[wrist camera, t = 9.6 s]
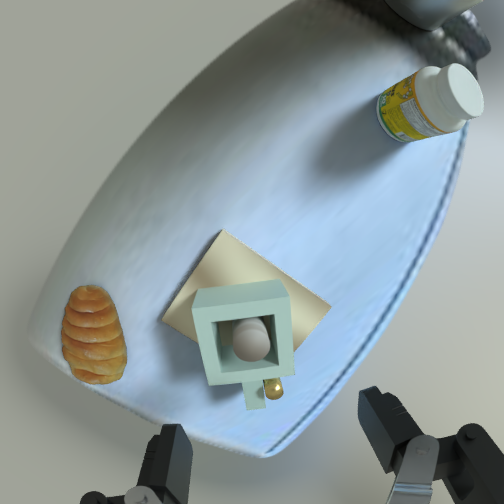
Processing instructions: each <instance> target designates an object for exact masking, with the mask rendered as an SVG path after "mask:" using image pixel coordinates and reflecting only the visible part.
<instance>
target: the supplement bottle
mask: <svg viewBox="0 0 504 504" xmlns="http://www.w3.org/2000/svg"><path fill="white" fill-rule="evenodd" d="M483 108H484V100H483V95H482V92H481V89H480V87H479V85H478V83H477V81H476V79H475V78H474V76H473V75H472V74H471V73H470V72H469V71H468V70H467V69H466V68H465V67H463V66H462V65H460V64H451V65H448V66H446V67H443V68H442V69H441V68H438V67H433V66H429V67H425V68H422V69H420V70H419V71H417V72H415V73H414V74H412V75H410V76H409V77H407V78H405V79H403V80H402V81H400V82H398V83H396V84H395V85H393V86H392V87H390V88H388V89H387V90H385V91H384V92H382V93H381V94H380V96H379V98H378V101H377V107H376V112H377V117H378V120H379V122H380V124H381V126H382V128H383V129H384V130H385V132H386V133H387V134H388V135H389V136H391V137H392V138H394V139H395V140H397V141H400V142H413V141H417V140H421V139H425V138H429V137H434V136H439V135H443V134H448V133H452V132H456V131H458V130H460V129H461V128H462V127H463V126H464V124H465V122H466V120H469V119H472V118H476V117H479V116H480V115H481V114H482V112H483Z"/></svg>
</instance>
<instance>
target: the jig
mask: <svg viewBox="0 0 504 504" xmlns="http://www.w3.org/2000/svg"><path fill="white" fill-rule="evenodd" d="M273 279H280V280H281V282H282V284H283V285H284V287H285V289H286V290H287V292H288V294H289V296H290V305H291V319H292V334H293V351H294V352H295V351H296V349H297V348H298V347H299V346H300V345H301V344H302V343H303V341H304V340H305V339H306V338H307V337H308V335H309V334H310V333H311V332H312V331H313V329H314V328H315V327H316V326H317V325H318V323H319V322H320V321H321V320H322V319H323V317H324V316H325V315H326V314H327V312H328V311H329V310H330V309H331V306H330V304H329V303H328V302H327V301H325V300H324V299H322V298H321V297H320V296H318V295H317V294H315V293H314V292H313V291H311V290H310V289H308V288H307V287H305V286H304V285H303V284H301V283H300V282H298V281H297V280H296V279H294V278H293V277H291V276H290V275H288V274H287V273H286V272H284V271H283V270H281V269H280V268H279V267H277V266H276V265H274V264H273V263H271V262H270V261H269V260H267V259H266V258H264V257H263V256H261V255H260V254H259V253H257V252H256V251H254V250H253V249H252V248H250V247H249V246H247V245H246V244H244V243H243V242H242V241H240V240H239V239H237V238H236V237H234V236H233V235H232V234H230V233H229V232H227V231H226V230H225V229H222V230H221V232H220V233H219V235H218V236H217V238H216V239H215V240H214V242H213V243H212V245H211V246H210V247H209V249H208V250H207V252H206V253H205V255H204V256H203V258H202V259H201V260H200V262H199V263H198V265H197V266H196V268H195V269H194V271H193V272H192V274H191V275H190V277H189V278H188V279H187V281H186V282H185V284H184V285H183V287H182V288H181V290H180V291H179V293H178V294H177V296H176V297H175V299H174V300H173V302H172V303H171V305H170V306H169V308H168V309H167V311H166V312H165V314H164V316H163V318H162V321H163V322H165V323H166V324H168V325H169V326H171V327H172V328H174V329H175V330H177V331H179V332H180V333H182V334H183V335H185V336H187V337H188V338H190V339H192V340H193V341H195V342H196V343H198V344H199V342H198V338H197V333H196V328H195V324H194V319H193V314H192V309H191V308H192V305H193V302H194V299H195V296H196V293H197V290H198V289H202V288H210V287H218V286H227V285H235V284H243V283H250V282H258V281H265V280H273ZM218 326H219V332H220V337H221V343H222V346H226V345H233V350H234V353H235V355H236V356H237V357H238V358H239V359H241V360H243V361H247V362H255V361H259V360H261V359H263V358H264V357H265V356H266V355H267V354H268V352H269V350H270V341H269V340H272V338H271V328H270V318H269V315H264V316H257V317H250V318H242V319H234V320H225V321H218Z"/></svg>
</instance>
